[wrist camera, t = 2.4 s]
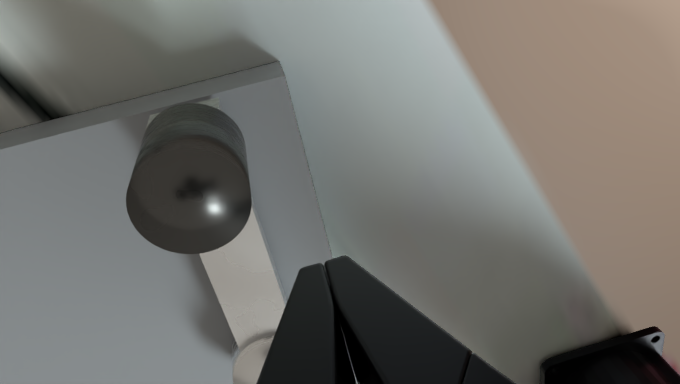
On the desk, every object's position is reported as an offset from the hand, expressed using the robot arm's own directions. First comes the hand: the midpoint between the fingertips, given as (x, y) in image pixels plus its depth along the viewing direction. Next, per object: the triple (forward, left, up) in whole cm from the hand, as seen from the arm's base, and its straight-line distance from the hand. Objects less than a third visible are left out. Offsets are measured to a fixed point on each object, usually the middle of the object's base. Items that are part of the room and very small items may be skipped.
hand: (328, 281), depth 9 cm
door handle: (+3, +4, -8) cm, 10 cm away
